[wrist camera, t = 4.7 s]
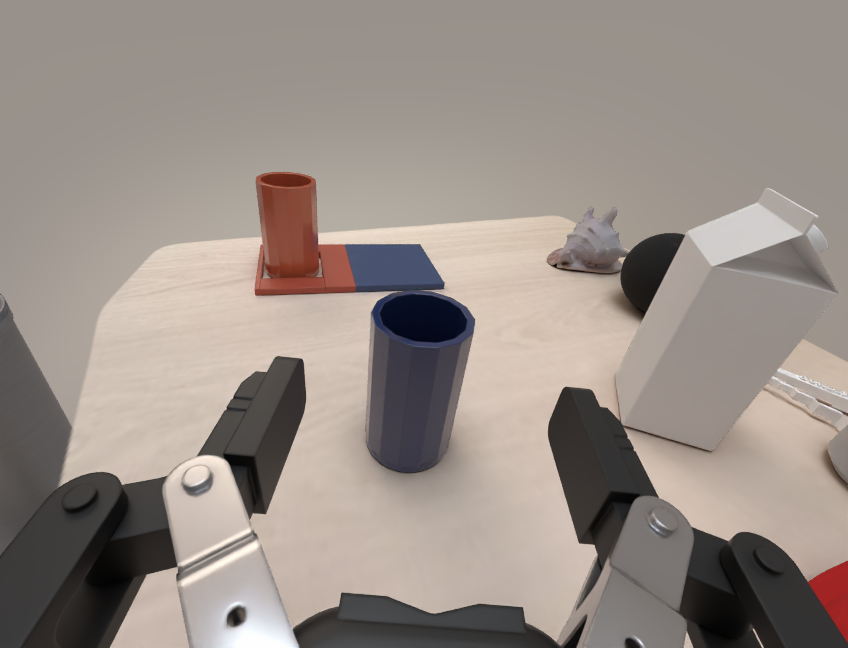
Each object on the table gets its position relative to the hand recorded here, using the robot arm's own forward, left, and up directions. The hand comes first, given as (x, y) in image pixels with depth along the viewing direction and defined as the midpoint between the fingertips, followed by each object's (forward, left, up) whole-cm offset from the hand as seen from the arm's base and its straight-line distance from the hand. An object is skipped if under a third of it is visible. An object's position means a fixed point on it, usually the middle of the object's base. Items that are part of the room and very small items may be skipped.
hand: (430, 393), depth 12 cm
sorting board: (+2, +39, -15) cm, 42 cm away
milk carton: (+26, +10, -15) cm, 32 cm away
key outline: (+43, +7, -15) cm, 46 cm away
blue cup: (+3, +11, -15) cm, 19 cm away
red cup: (-5, +39, -15) cm, 42 cm away
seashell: (+38, +39, -15) cm, 57 cm away
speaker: (+39, +26, -15) cm, 49 cm away
